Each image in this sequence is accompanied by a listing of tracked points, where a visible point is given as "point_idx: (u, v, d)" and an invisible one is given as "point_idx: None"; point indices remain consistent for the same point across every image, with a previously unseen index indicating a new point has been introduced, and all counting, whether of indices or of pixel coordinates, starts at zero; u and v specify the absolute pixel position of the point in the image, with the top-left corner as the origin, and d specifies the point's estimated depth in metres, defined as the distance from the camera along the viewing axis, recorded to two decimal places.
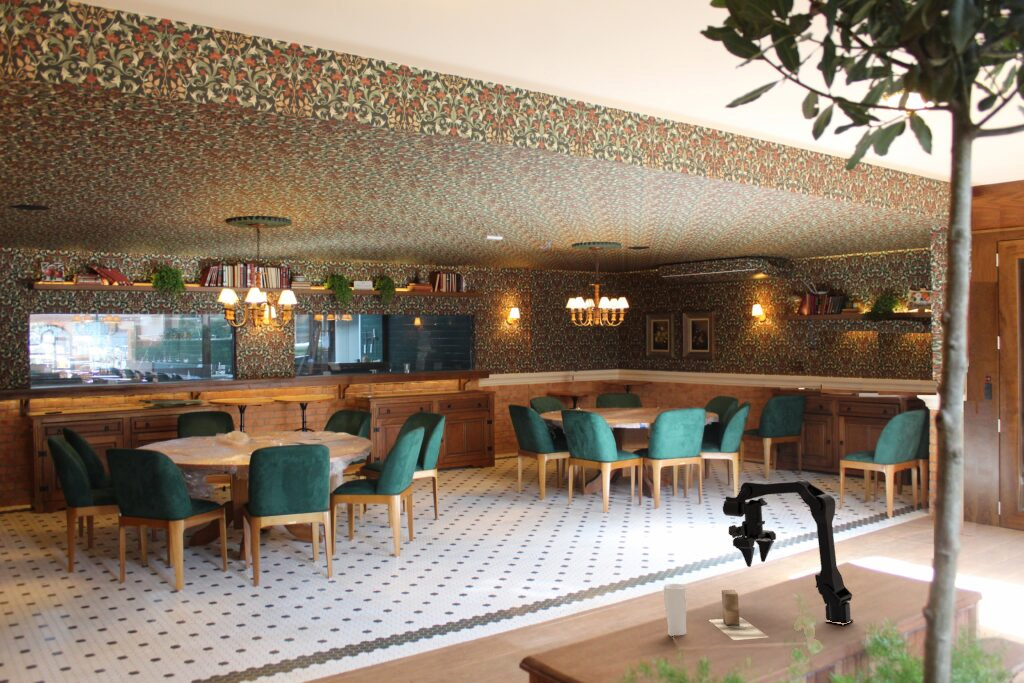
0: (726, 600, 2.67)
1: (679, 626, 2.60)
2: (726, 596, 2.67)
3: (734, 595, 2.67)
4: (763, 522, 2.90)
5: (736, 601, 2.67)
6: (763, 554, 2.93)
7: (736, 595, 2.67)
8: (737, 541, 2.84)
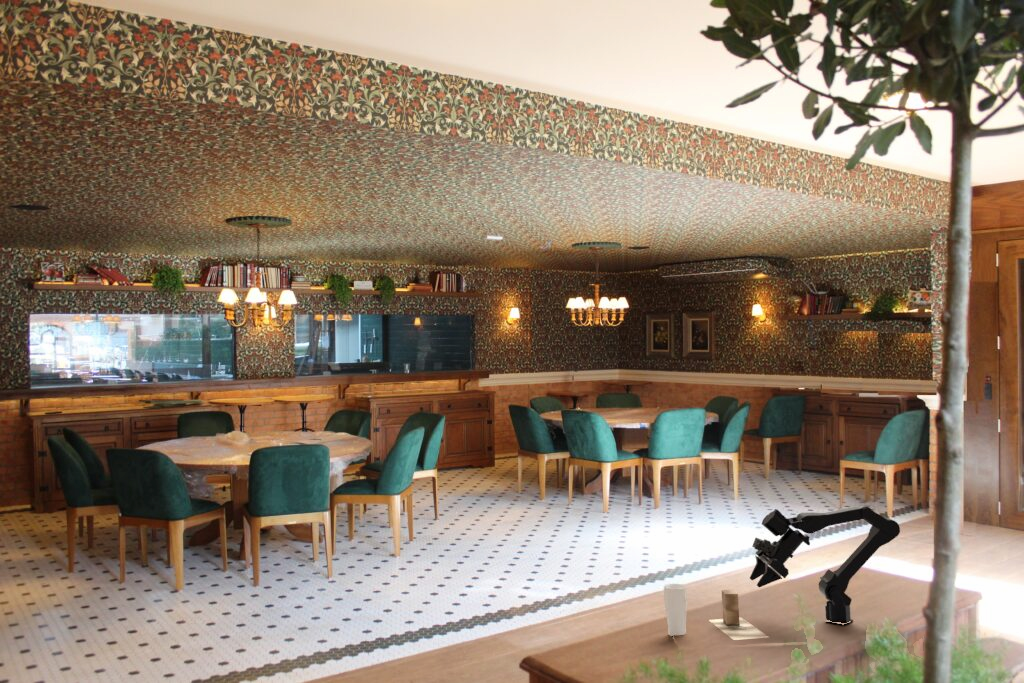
0: (726, 600, 2.67)
1: (679, 626, 2.60)
2: (726, 596, 2.67)
3: (734, 595, 2.67)
4: None
5: (736, 601, 2.67)
6: (756, 574, 2.75)
7: (736, 595, 2.67)
8: (779, 566, 2.61)
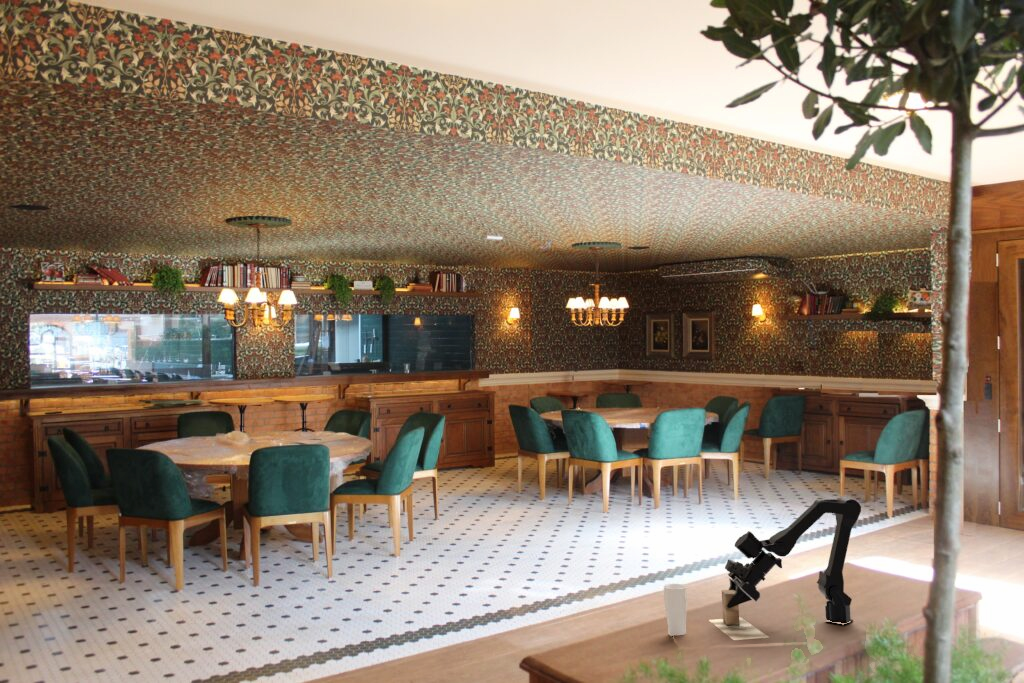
0: (726, 600, 2.67)
1: (679, 626, 2.60)
2: (726, 596, 2.67)
3: None
4: None
5: None
6: None
7: None
8: (750, 589, 2.61)
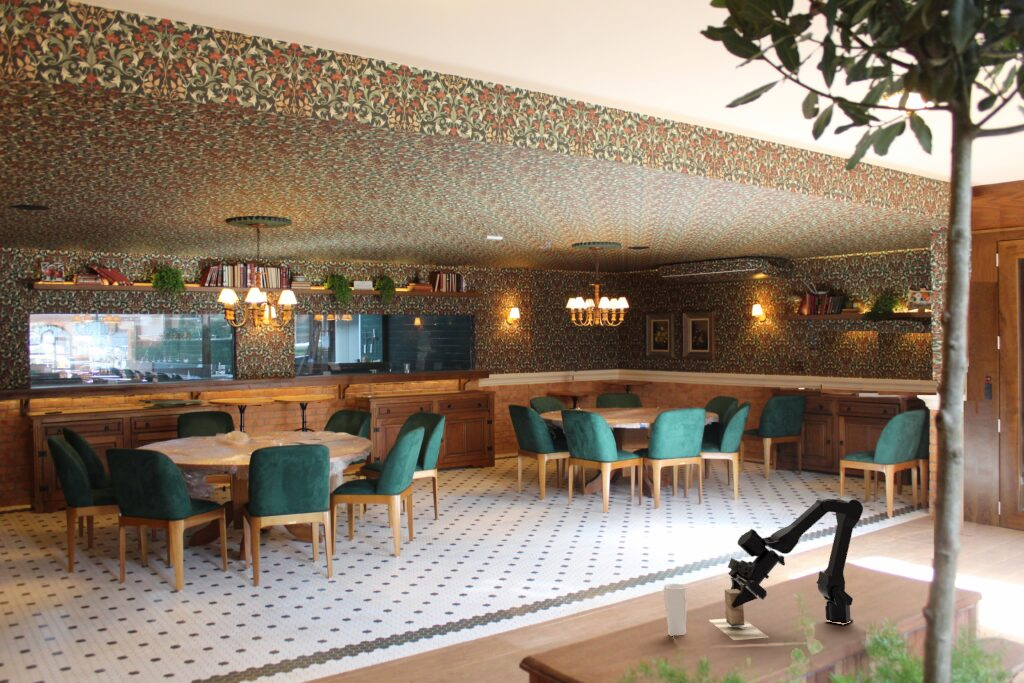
0: (731, 599, 2.63)
1: (679, 626, 2.60)
2: (731, 595, 2.63)
3: None
4: None
5: None
6: None
7: None
8: (757, 587, 2.57)
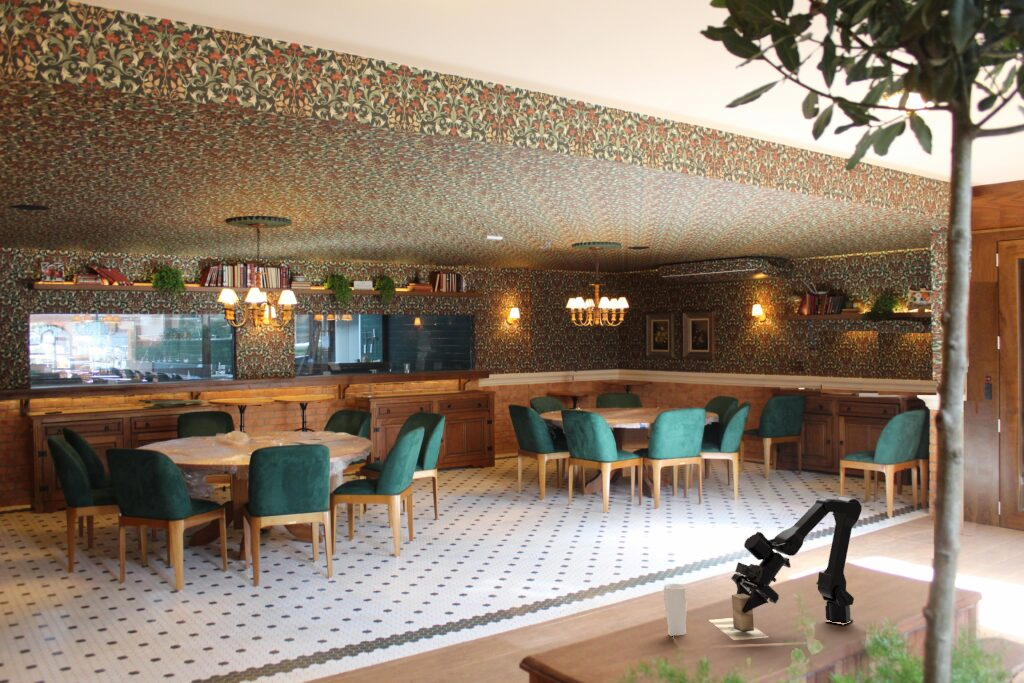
0: (741, 605, 2.57)
1: (679, 626, 2.60)
2: (741, 601, 2.57)
3: None
4: None
5: None
6: None
7: None
8: (771, 591, 2.53)
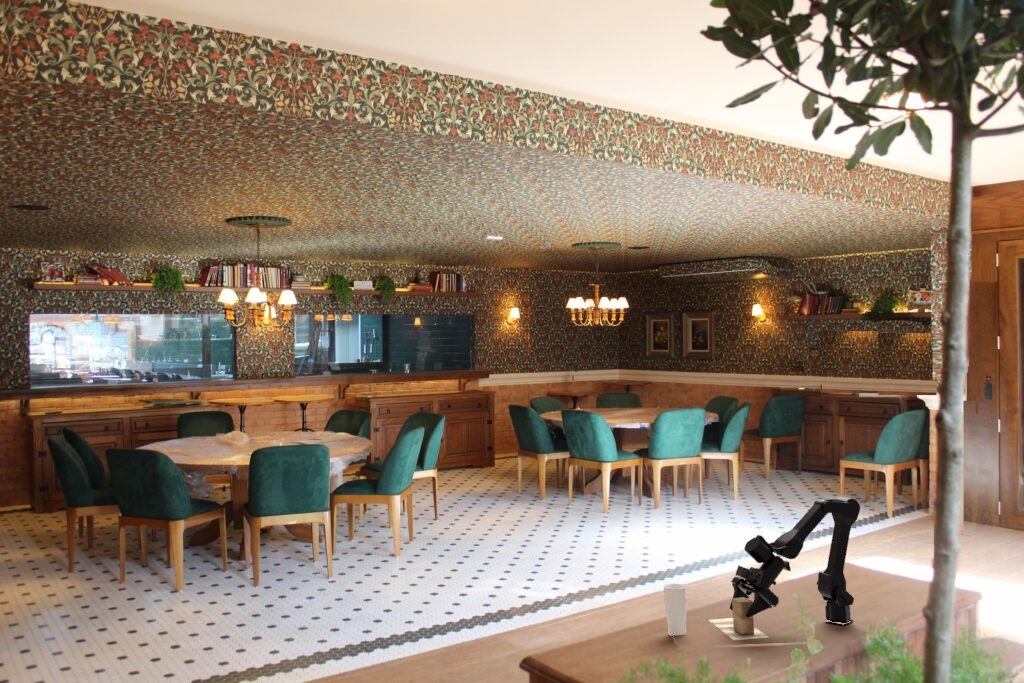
0: (741, 608, 2.57)
1: (679, 626, 2.60)
2: (741, 604, 2.57)
3: (749, 603, 2.58)
4: None
5: None
6: None
7: (751, 603, 2.58)
8: (771, 594, 2.52)
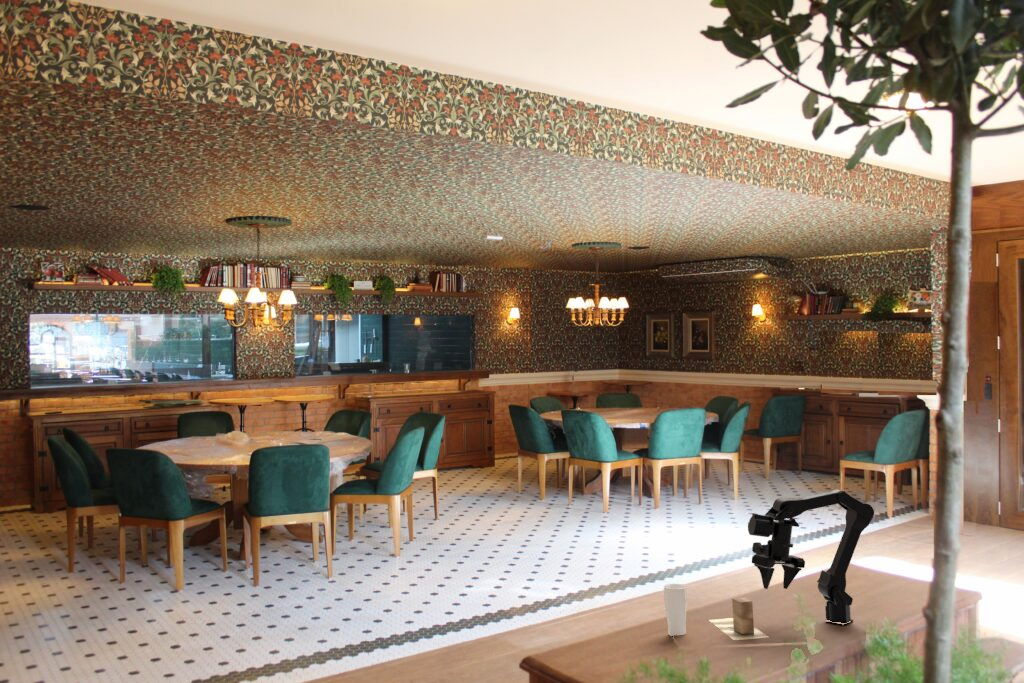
0: (741, 608, 2.57)
1: (679, 626, 2.60)
2: (741, 604, 2.57)
3: (749, 603, 2.58)
4: (791, 545, 2.66)
5: (751, 609, 2.58)
6: (787, 580, 2.69)
7: (751, 603, 2.58)
8: (756, 558, 2.64)
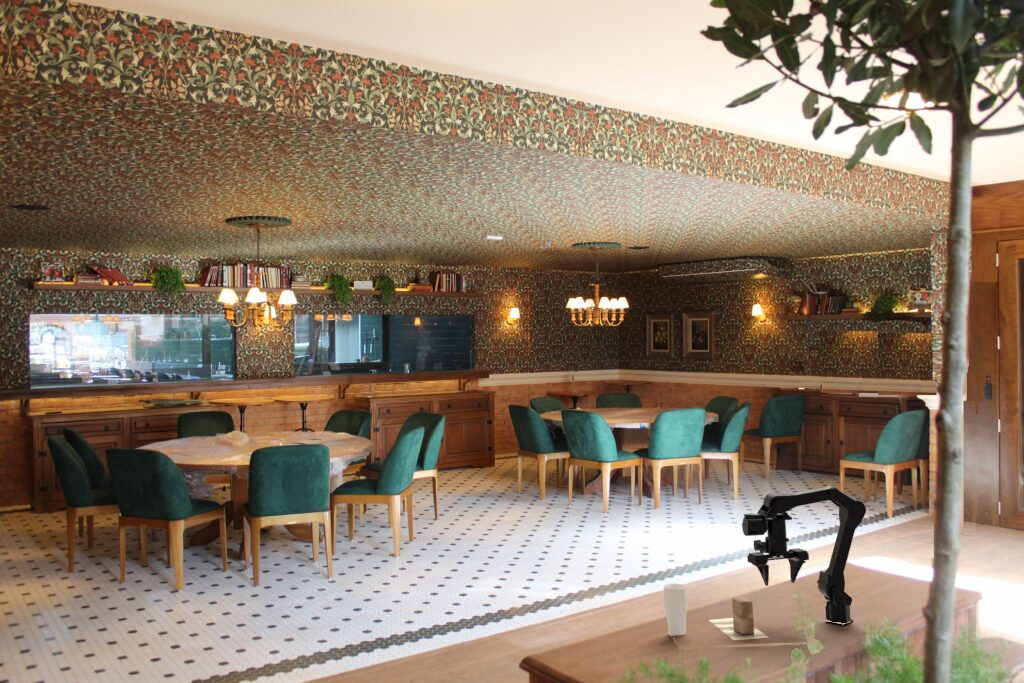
0: (741, 608, 2.57)
1: (679, 626, 2.60)
2: (741, 604, 2.57)
3: (749, 603, 2.58)
4: (786, 540, 2.67)
5: (751, 609, 2.58)
6: (793, 574, 2.69)
7: (751, 603, 2.58)
8: (750, 557, 2.67)
